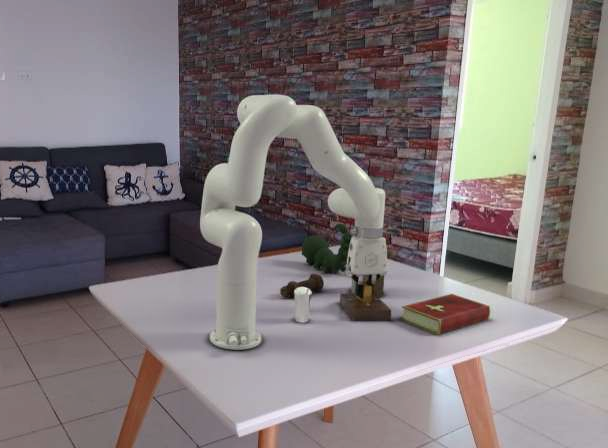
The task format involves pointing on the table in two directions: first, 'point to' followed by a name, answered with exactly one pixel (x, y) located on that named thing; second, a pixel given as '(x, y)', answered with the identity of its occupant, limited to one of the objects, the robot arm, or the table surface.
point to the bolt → (303, 285)
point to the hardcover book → (445, 313)
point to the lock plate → (365, 308)
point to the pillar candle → (377, 286)
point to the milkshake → (302, 304)
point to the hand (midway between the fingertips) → (363, 296)
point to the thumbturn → (366, 293)
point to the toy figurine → (327, 251)
